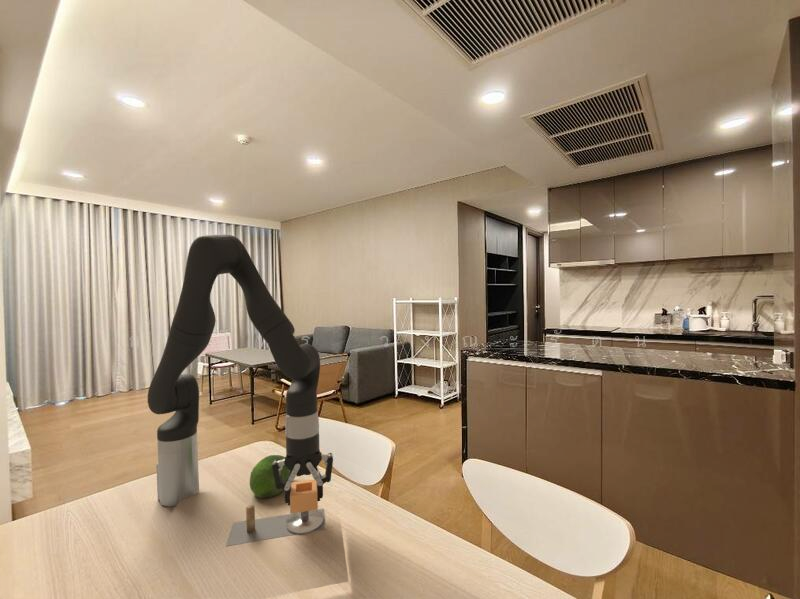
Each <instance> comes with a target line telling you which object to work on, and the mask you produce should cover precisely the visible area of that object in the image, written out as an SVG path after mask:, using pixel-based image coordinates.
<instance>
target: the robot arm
mask: <svg viewBox="0 0 800 599" xmlns="http://www.w3.org/2000/svg"><path fill="white" fill-rule="evenodd" d="M223 274H229V275H231V277H233V279H234V280H235V281H236V282H237V284H238V285H239V286H240V288H241V291H242V293H243V296H244V301H245V305H246V306H245V307H246V311H247V315H248V317H249V320H250V322H251V323H252V325H253V326H254V328H255V329H256V331H257V332H258V333H259V334H260V336H261V338H263V340H264V341H265V342H266V344H267V345H268V348H269V350H270V353H271V355H272V357H273V360H274V362H275V364H276V366H277V368H278V369H279V370H280V371H281V373H282V374H283V375H284V376H286V377H287V378H289V379H291V384H290V386H289V387H288V388H287V391H286V394H285V413H286V414H285V426H284V427H285V428H284V429H285V450H286V451H285V456H284V457H285V459H283V460H279V461H278V460H277V459H275V460H274V461H273V465H272V469H273V474H274V479H275V485H276V488H277V489H280V488H281V489H283V491H284V503H285V504H287V506H290V492H291V485H292V482H295V478H296V477H302V476H312V477H313V479H315V480H316V482H317V500H318V502H321V499H323V497H324V487H323V486H324V484H326V483H330V482H331V479H332V473H333V464H334V454H333V453H332V452H329V453H327V454H322V452H321V451H320V421H319V420H320V419H319V412H318V392H317V391H318V385H319V379H320V371H321V358H320V354H319V351H318V349H317V348H316V347H315V346H313V345H312V344H310V343H302V344H300V343H298V342H299V341H297V339H296V337H295V336H294V334H295V332H296V330H295V327H294V325H293V323H292V321H291V320H290V319H289V318H288V316H287V314H285V313H284V311H283V310H282V308H281V307H280V305H279V304H278V303H277V301H276V300H275V298H274V297H273V296H272V294H271V293H270V291H269V290H268V288H267V286H266V284H265V282H264V280H263V278H262V277H261V276H262V275H260V272H259V271H258V269H257V267H256V265H255V264H254V261H253V260H252V257H251V255H250V254H249V252H248V250H247V248H246V246H245V245H244V244H243V242H242V241H241V240H240V239H239V238H238V237H236V236H234V235H231V234H228V233H226V234H225V233H224V234H222V233H221V234H218V233H217V234H203V235H199V236H198V237H196V238H195V239H194V240H193V242H191V244H190V247H189V249H188V254H187V258H186V265H185V271H184V276H183V282H182V283H183V284H182V288H181V290H180V291H181V292H180V296H179V299H178V303H177V307H176V310H175V313H174V316H173V318H172V322H171V324H170V328H169V333H168V336H167V341H166V343H165V346H164V350H163V353H162V355H161V359H160V361H159V364H158V366H157V368H156V370H155V373H154V375H153V377H152V380H151V382H150V385H149V387H148V391H147V404H148V408H149V411H151V412H152V413H153V414H155V415H165V414H170V413H173V415H172V416H171V417H170V418H168V419H167V420H166V421H164V422H163V423H161V424H160V425H159V426H158V428H157V431H156V433H157V434H156V440H157V442H156V444H157V465H155V466H156V467H155V469H156V486H157V487H156V489H157V500H159V503H160V505H162V507H163V506H164V507H176V506H177V505H178V503H179V502H180V501H182V500H185V499H187V498H189V497H191V496H193V495H194V494H199V493H200V481H199V480H200V475H199V449H198V447H199V446H198V424H199V417H200V415H199V413H200V408H199V407H200V390H199V389H200V388H199V384H198V381H197V379H196V377H195V376H194V375H193V374H191V373H183V372H184V371H185V370H186V369H187V368H188V367H189V366H190V365H191V364H192V363H194V361H195V360H196V359H197V358H199V356H200V355H201V354H202V353H203V352H204V350H206V348H207V347H208V346H209V343H210V341H211V338H212V335H213V333H214V330H215V326H216V321H217V320H216V315H215V310H214V308H213V305H212V302H211V294H212V289H213V288H214V285H215V281H216V279H217V277H218V276H219V275H223ZM322 461H323V464H324V465H325V472H324V473H325V474H323V475H322V474H321V472H320V470H319V468H318V466H319V465H320V463H321V462H322ZM283 465H285V466H286V467H287V468H288V469H289V470H290V472H289V474H288V477H287V479H286V481H284V480H282V477H281V470H282V468H283Z"/></svg>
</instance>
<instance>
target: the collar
mask: <svg viewBox="0 0 800 599" xmlns="http://www.w3.org/2000/svg"><path fill="white" fill-rule="evenodd" d="M318 503H319V501H318V500H317V482H316V480H315V479H314V478H313V479H307V480H300V481H293V482H292V485H291V492H290V507H289V509H290V512H289V514H293V513H298V512H304V511H311V510H319V506H318Z"/></svg>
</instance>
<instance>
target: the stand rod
mask: <svg viewBox="0 0 800 599" xmlns="http://www.w3.org/2000/svg"><path fill="white" fill-rule="evenodd" d="M255 507H256V505H255V504H248V505H246V508H245V514H246V517H245V518H246V520H245V521H246V523H247V533H252V532H254V531H255V519H256V516H255V515H256V512H255V511H256V510H255Z"/></svg>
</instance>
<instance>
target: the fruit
mask: <svg viewBox="0 0 800 599" xmlns="http://www.w3.org/2000/svg"><path fill="white" fill-rule="evenodd" d="M285 457H286V456H283V455H279V454H277V455H276V454H273V455H268V456H266V457H263V458H262V459H261V460H259V462H257V463H256V465H255V466H254V467H253V468H252V470H251V472H250V477H249V488H250V491H251V492H252V493H253V494H254V496H255V497H257V498H260V499H270V498H273V497H275V496H277V495H279V494H281V493H282V492H283V491H284V489H281V488H280V489H277V488H276V485H275V479H274V474H273V469H272V465H273V461H274V460H275V459H277V460H278V461H279V460H283V459H285ZM289 472H290V470H289V469H288V468H287V467H286V466H285V465H283V468H282V470H281V477H282V480H284V481H286V479H287V477H288V474H289Z"/></svg>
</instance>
